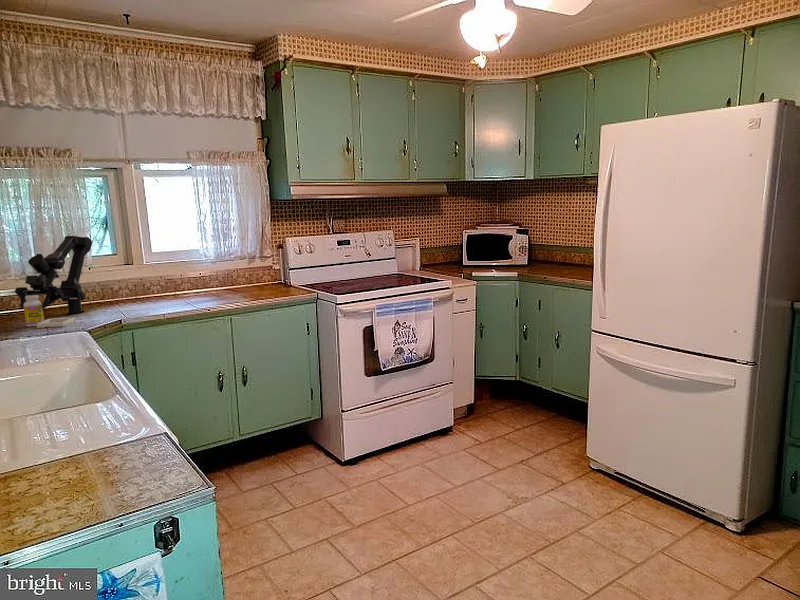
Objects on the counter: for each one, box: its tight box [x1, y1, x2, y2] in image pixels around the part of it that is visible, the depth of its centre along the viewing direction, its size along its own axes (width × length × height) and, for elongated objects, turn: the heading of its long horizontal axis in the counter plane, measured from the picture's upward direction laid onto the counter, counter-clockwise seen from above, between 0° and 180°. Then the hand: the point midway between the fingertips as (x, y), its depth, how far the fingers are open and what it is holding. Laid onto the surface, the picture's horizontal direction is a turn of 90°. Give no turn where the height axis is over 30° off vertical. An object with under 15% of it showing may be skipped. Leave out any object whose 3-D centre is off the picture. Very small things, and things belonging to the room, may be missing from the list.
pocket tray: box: [36, 317, 76, 329], centre depth 245 cm, size 12×11×2 cm
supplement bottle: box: [23, 295, 45, 328], centre depth 245 cm, size 7×7×13 cm
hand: (32, 308), depth 244 cm, fingers open, 9 cm apart
